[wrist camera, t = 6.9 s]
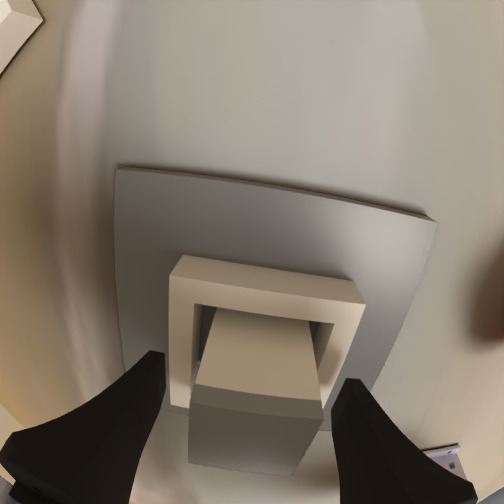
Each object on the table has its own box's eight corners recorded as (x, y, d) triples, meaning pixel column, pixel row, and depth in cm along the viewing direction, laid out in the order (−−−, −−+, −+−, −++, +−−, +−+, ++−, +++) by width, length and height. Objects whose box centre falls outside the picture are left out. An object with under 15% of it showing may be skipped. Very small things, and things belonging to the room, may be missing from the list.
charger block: (307, 314, 14) (324, 419, 8) (288, 376, 15) (291, 475, 10) (218, 300, 14) (189, 401, 8) (211, 365, 15) (188, 462, 10)
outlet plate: (428, 216, 13) (461, 238, 10) (344, 420, 18) (351, 455, 15) (125, 166, 13) (91, 177, 10) (135, 390, 18) (120, 423, 15)
